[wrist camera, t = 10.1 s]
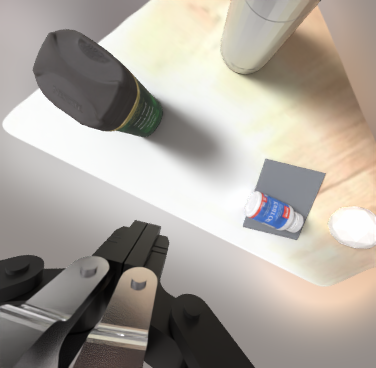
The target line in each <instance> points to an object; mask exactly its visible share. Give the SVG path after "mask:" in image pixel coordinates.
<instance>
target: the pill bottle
mask: <svg viewBox="0 0 376 368" xmlns="http://www.w3.org/2000/svg"><path fill="white" fill-rule="evenodd" d="M244 213H245V215H246V216H247V217H249V218H251V219H253V220H256V221H258V222H260V223H262V224H265V225H267V226H269V227H272V228H274V229H276V230H287V231H289V232H292V233H295V232H297V231H299V230H300V229H301V227H302V225H303V217H302V215H301V214H299V213H297V212H295V211H294V210H293V208H292V207H291V206H290V205H288V204H286V203H284V202H282V201H279V200H277V199H275V198H272V197H270V196H268V195H266V194H263V193H261V192H258V191H256V192H253V193H252V194H251V195H250V196H249V198H248V199H247V202H246V204H245V208H244Z"/></svg>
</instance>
